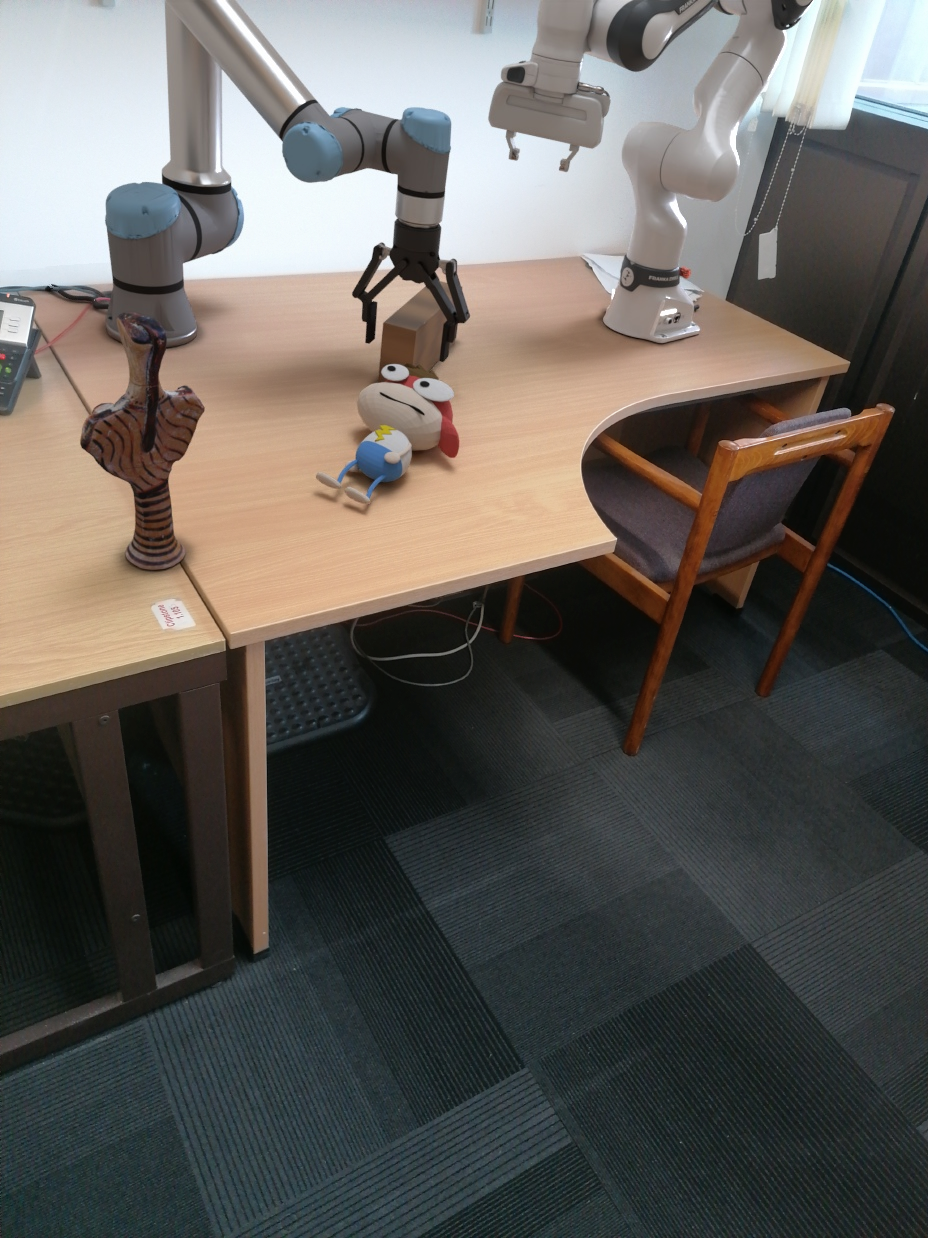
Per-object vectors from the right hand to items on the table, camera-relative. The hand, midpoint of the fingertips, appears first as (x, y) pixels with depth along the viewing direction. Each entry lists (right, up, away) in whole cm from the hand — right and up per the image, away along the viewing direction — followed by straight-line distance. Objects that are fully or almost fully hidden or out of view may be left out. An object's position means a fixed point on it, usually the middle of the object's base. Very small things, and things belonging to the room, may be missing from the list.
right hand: (538, 164), depth 160 cm
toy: (-25, -58, -25) cm, 68 cm away
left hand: (-23, -35, -6) cm, 42 cm away
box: (-22, -34, +5) cm, 41 cm away
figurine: (-51, -74, -51) cm, 103 cm away
